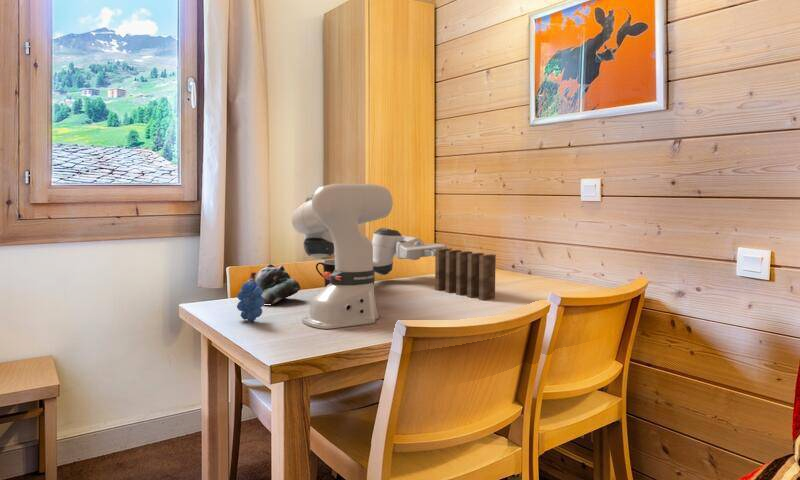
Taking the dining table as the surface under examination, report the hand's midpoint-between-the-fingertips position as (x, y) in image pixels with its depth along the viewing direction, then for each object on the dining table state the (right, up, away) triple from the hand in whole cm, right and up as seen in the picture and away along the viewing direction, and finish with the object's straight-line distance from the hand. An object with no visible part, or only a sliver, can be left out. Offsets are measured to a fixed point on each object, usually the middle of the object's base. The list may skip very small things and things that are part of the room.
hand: (436, 254), depth 211 cm
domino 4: (+12, -14, -16) cm, 25 cm away
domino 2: (+5, -13, -8) cm, 16 cm away
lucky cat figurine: (-55, -15, -25) cm, 63 cm away
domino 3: (+9, -14, -12) cm, 20 cm away
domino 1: (+2, -13, -3) cm, 14 cm away
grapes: (-55, -18, -51) cm, 78 cm away
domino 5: (+16, -15, -21) cm, 30 cm away
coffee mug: (-40, -12, -1) cm, 41 cm away
